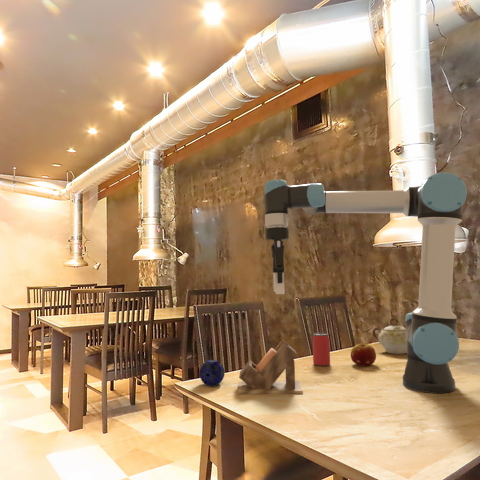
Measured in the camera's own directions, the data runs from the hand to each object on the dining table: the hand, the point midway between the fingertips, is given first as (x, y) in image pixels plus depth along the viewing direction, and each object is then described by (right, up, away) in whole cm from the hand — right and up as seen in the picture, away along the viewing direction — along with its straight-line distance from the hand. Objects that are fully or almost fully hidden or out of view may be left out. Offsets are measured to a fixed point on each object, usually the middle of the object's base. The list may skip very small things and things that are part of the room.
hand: (278, 293), depth 130 cm
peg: (-9, -28, -2) cm, 29 cm away
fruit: (+36, -32, +27) cm, 55 cm away
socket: (-3, -32, -2) cm, 32 cm away
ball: (-22, -31, +4) cm, 38 cm away
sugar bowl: (+58, -33, +50) cm, 83 cm away
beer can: (+20, -32, +29) cm, 48 cm away
